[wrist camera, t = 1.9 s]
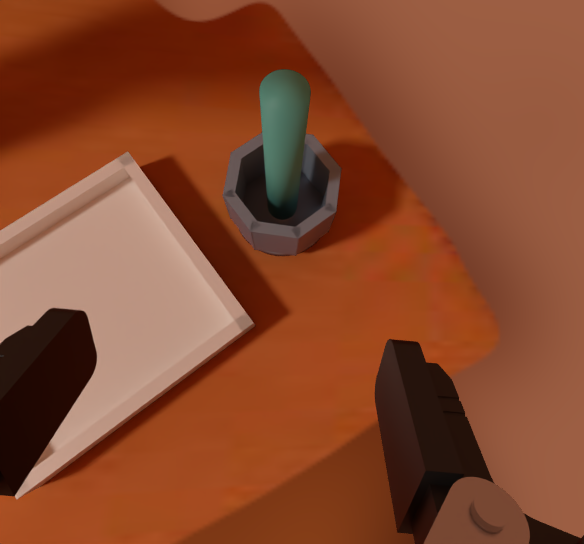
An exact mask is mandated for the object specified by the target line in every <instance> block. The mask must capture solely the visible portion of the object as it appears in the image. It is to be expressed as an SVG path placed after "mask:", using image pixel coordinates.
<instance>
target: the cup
mask: <svg viewBox="0 0 584 544" xmlns="http://www.w3.org/2000/svg"><path fill="white" fill-rule="evenodd" d="M340 175H341V167H340V166H339V165H338V164H337V163H336V162H335V160H334V159H333V158H332V157H331V156H330V154H329V153H328V152H327V151H326V150H325V148H324V147H323V146H322V145H321V144H320V143H319V141H318V140H317V139H316V138H315V137H314V135H311V134H306V136H305V144H304V152H303V161H302V169H301V177H300V185H299V194H298V202H297V209H296V212H295V214H294V215H293V216H292V217H290V218H289V219H285V220H279V219H276V218H274V217H273V216H272V215H271V214H270V213H269V210H268V203H267V189H266V176H265V162H264V148H263V134H262V133H260V134H259V135H257V136H256V137H254V138H253V139H251V140H250V141H248V142H247V143H245V144H244V145H242V146H241V147H239V148H237V149H236V150H234V151H233V152H231V155H230V161H229V166H228V171H227V176H226V182H225V187H224V192H223V198H224V201H225V204H226V207H227V209H228V212H229V215H230V218H231V219H232V220H233V222H234V223H235V224H236V226H237V227H238V228H239V230H240V233H241V234H242V236H243V237H244V238H245V239H246V241H247V242H248V243H249V244H251V245H252V247H253V248H254V250H259V251H262V252H264V253H267V254H270V255H275V256H290V255H295V256H296V255H297V254H298V253H301V252H303V251H305V250H307V249H309V248H310V247H312V246H313V245H314V244H315V243H316V242H317V241H318V240H319V239H320V238H321V237H322V236H323V235H324V234H326V233H327V232H329V229H330V227H331V224H332V222H333V219H334V216H335V214H336V209H337V200H338V192H339V183H340Z"/></svg>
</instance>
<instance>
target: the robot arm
mask: <svg viewBox="0 0 584 544" xmlns="http://www.w3.org/2000/svg"><path fill="white" fill-rule="evenodd" d="M96 363H97V352H96V348H95V344H94V340H93V336H92V332H91V328H90V324H89V320H88V317H87V314H86V313H85V312H84V311H82V310H73V309H62V308H51V309H49V310H48V311H46V312H45V313H44V314H43V315H42V317H41V318H40V319H39V320H38V321H37V322H36V323H35V324H34V325H33V326H29V325H27V326H26V327H24V328H22V329H21V330H19V331H17V332H15V333H14V334H12V335H10V336H9V337H7V338H5V339H4V340H3V341H2V342H1V343H0V495H5V496H15V495H16V493H17V492H18V490H19V489H20V487H21V486H22V484H23V483H24V481H25V479H26V478H27V476H28V475H29V473H30V472H31V470H32V469H33V467H34V465H35V464H36V462H37V461H38V459H39V458H40V456H41V455H42V453H43V452H44V450H45V448H46V447H47V445H48V444H49V442H50V441H51V439H52V438H53V436H54V434H55V433H56V431H57V430H58V428H59V427H60V425H61V424H62V422H63V421H64V419H65V417H66V416H67V414H68V413H69V411H70V410H71V408H72V407H73V405H74V403H75V402H76V400H77V399H78V397H79V396H80V394H81V393H82V391H83V389H84V388H85V386H86V385H87V383H88V382H89V380H90V379H91V377H92V375H93V373H94V371H95V368H96ZM375 403H376V409H377V415H378V421H379V427H380V432H381V439H382V444H383V450H384V456H385V462H386V468H387V474H388V480H389V486H390V492H391V498H392V503H393V509H394V515H395V521H396V527H397V532H398V533H408V534H413V536H414V541H415V544H584V536H583V537H582V538H579V537H576V536H574V535H571V534H569V533H566V532H564V531H562V530H559V529H557V528H554V527H552V526H549V525H547V524H544V523H542V522H539V521H537V520H535V519H533V518H531V517H529V516H527V515H526V514H524V513H523V512H522V510H521V508H520V507H519V505H518V504H517V503H516V501H515V500H514V499H513V498H512V497H511V496H510V495H509V494H508V493H507V492H506V491H504V490H503V489H502V488H500V487H499V486H497V485H496V484H495V483H494V482H493V480H492V478H491V476H490V474H489V471H488V468H487V466H486V463H485V461H484V459H483V456H482V454H481V451H480V449H479V446H478V444H477V441H476V439H475V436H474V434H473V431H472V429H471V426H470V424H469V421H468V419H467V417H465V411H464V409H463V406H462V404H461V402H460V401H459V397H458V394H457V391H456V389H455V386H454V384H453V381H452V379H451V378H450V377H449V376H448V375H447V374H446V373H445V371H444V370H443V369H442V368H441V367H440V366H439V365H438V364H436V363H426V361H425V358H424V355H423V352H422V349H421V347H420V344H419V343H418V342H414V341H403V340H392V339H389V340H388V341H387V343H386V346H385V349H384V353H383V357H382V360H381V364H380V367H379V371H378V375H377V378H376V384H375Z"/></svg>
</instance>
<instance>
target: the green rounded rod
mask: <svg viewBox="0 0 584 544" xmlns="http://www.w3.org/2000/svg"><path fill="white" fill-rule="evenodd" d="M259 93H260V107H261V121H262V134H263V148H264V162H265V176H266V189H267V203H268V210H269V213H270V214H271V215H272V216H273V217H274V218H276V219H279V220H285V219H289V218H290V217H292V216H293V215H294V214H295V212H296V209H297V202H298V194H299V185H300V177H301V169H302V161H303V152H304V144H305V136H306V128H307V119H308V111H309V103H310V94H311V90H310V86H309V83H308V81H307V80H306V79H305V78H304V77H303V76H302V75H301V74H299V73H298V72H295V71H293V70H287V69H281V70H276V71H274V72H271V73H270V74H268V75H267V76H266V77H265V78H264V79H263V81H262V82H261V85H260V90H259Z"/></svg>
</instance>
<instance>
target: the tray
mask: <svg viewBox="0 0 584 544" xmlns="http://www.w3.org/2000/svg"><path fill="white" fill-rule="evenodd" d="M51 308H62V309H73V310H82V311H84V312H85V313H86V314H87V317H88V320H89V324H90V328H91V332H92V336H93V340H94V344H95V348H96V352H97V363H96V368H95V371H94V373H93V375H92V377H91V379H90V380H89V382H88V383H87V385H86V386H85V388H84V389H83V391H82V393H81V394H80V396H79V397H78V399H77V400H76V402H75V403H74V405H73V407H72V408H71V410H70V411H69V413H68V414H67V416H66V417H65V419H64V421H63V422H62V424H61V425H60V427H59V428H58V430H57V431H56V433H55V434H54V436H53V438H52V439H51V441H50V442H49V444H48V445H47V447H46V448H45V450H44V452H43V453H42V455H41V456H40V458H39V459H38V461H37V462H36V464H35V465H34V467H33V469H32V470H31V472H30V473H29V475H28V476H27V478H26V479H25V481H24V483H23V484H22V486H21V487H20V489H19V490H18V492H17V493H16V495H15V497H16V499H19V498H20V497H22V496H24V495H26V494H28V493H30V492H31V491H33V490H35V489H37V488H39V487H40V486H42V485H43V484H44V483H46V482H47V481H48V480H50V479H51V478H52V477H54V476H55V475H57V474H58V473H59V472H61V471H62V470H63V469H65V468H66V467H67V466H69V465H70V464H71V463H73V462H74V461H75V460H77V459H78V458H79V457H81V456H82V455H83V454H85V453H86V452H87V451H89V450H90V449H91V448H93V447H94V446H95V445H97V444H98V443H99V442H101V441H102V440H103V439H105V438H106V437H107V436H109V435H110V434H111V433H113V432H114V431H115V430H117V429H118V428H119V427H121V426H122V425H123V424H125V423H126V422H127V421H129V420H130V419H131V418H133V417H134V416H135V415H137V414H138V413H139V412H141V411H142V410H144V409H145V408H146V407H148V406H149V405H150V404H152V403H153V402H154V401H156V400H157V399H158V398H160V397H161V396H162V395H164V394H165V393H166V392H168V391H169V390H170V389H172V388H173V387H174V386H176V385H177V384H178V383H180V382H181V381H182V380H184V379H185V378H186V377H188V376H189V375H190V374H192V373H193V372H194V371H196V370H197V369H198V368H200V367H201V366H202V365H204V364H205V363H206V362H208V361H209V360H210V359H212V358H213V357H214V356H216V355H217V354H218V353H220V352H221V351H222V350H224V349H225V348H227V347H228V346H229V345H231V344H232V343H233V342H235V341H236V340H237V339H239V338H240V337H241V336H243V335H244V334H245V333H247V332H248V331H249V330H251V329H252V328H253V327H255V326H256V325H255V324H254V323H253V321H252V320H251V319H250V317H249V316H248V315H247V313H246V312H245V310H244V309H243V308H242V306H241V305H240V304H239V302H238V301H237V300H236V298H235V297H234V295H233V294H232V293H231V291H230V290H229V289H228V287H227V286H226V285H225V283H224V282H223V280H222V279H221V278H220V276H219V275H218V274H217V272H216V271H215V270H214V268H213V267H212V265H211V264H210V263H209V261H208V260H207V259H206V257H205V256H204V255H203V253H202V252H201V250H200V249H199V248H198V246H197V245H196V244H195V242H194V241H193V240H192V238H191V237H190V235H189V234H188V233H187V231H186V230H185V229H184V227H183V226H182V225H181V223H180V222H179V220H178V219H177V218H176V216H175V215H174V214H173V212H172V211H171V210H170V208H169V207H168V205H167V204H166V203H165V201H164V200H163V199H162V197H161V196H160V195H159V193H158V192H157V191H156V189H155V188H154V186H153V185H152V184H151V182H150V181H149V180H148V178H147V177H146V176H145V174H144V173H143V171H142V170H141V169H140V167H139V166H138V165H137V163H136V162H135V161H134V159H133V158H132V156H131V155H130V154H129V152H126V153H125V154H123V155H122V156H120V157H118V158H117V159H115V160H113V161H112V162H110V163H109V164H107V165H105V166H104V167H102V168H101V169H99V170H97V171H96V172H94V173H92V174H91V175H89V176H88V177H86V178H84V179H83V180H81V181H80V182H78V183H76V184H75V185H73V186H71V187H70V188H68V189H67V190H65V191H63V192H62V193H60V194H59V195H57V196H55V197H54V198H52V199H51V200H49V201H47V202H46V203H44V204H42V205H41V206H39V207H38V208H36V209H34V210H33V211H31V212H30V213H28V214H26V215H25V216H23V217H21V218H20V219H18V220H17V221H15V222H13V223H12V224H10V225H9V226H7V227H5V228H4V229H2V230H1V231H0V343H1V342H2V341H3V340H4V339H5V338H7V337H9V336H10V335H12V334H14V333H15V332H17V331H19V330H21V329H22V328H24V327H26V326H27V325H29V326H33V325H34V324H35V323H36V322H37V321H38V320H39V319H40V318H41V317H42V315H43V314H44V313H45V312H46V311H48V310H49V309H51Z"/></svg>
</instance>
